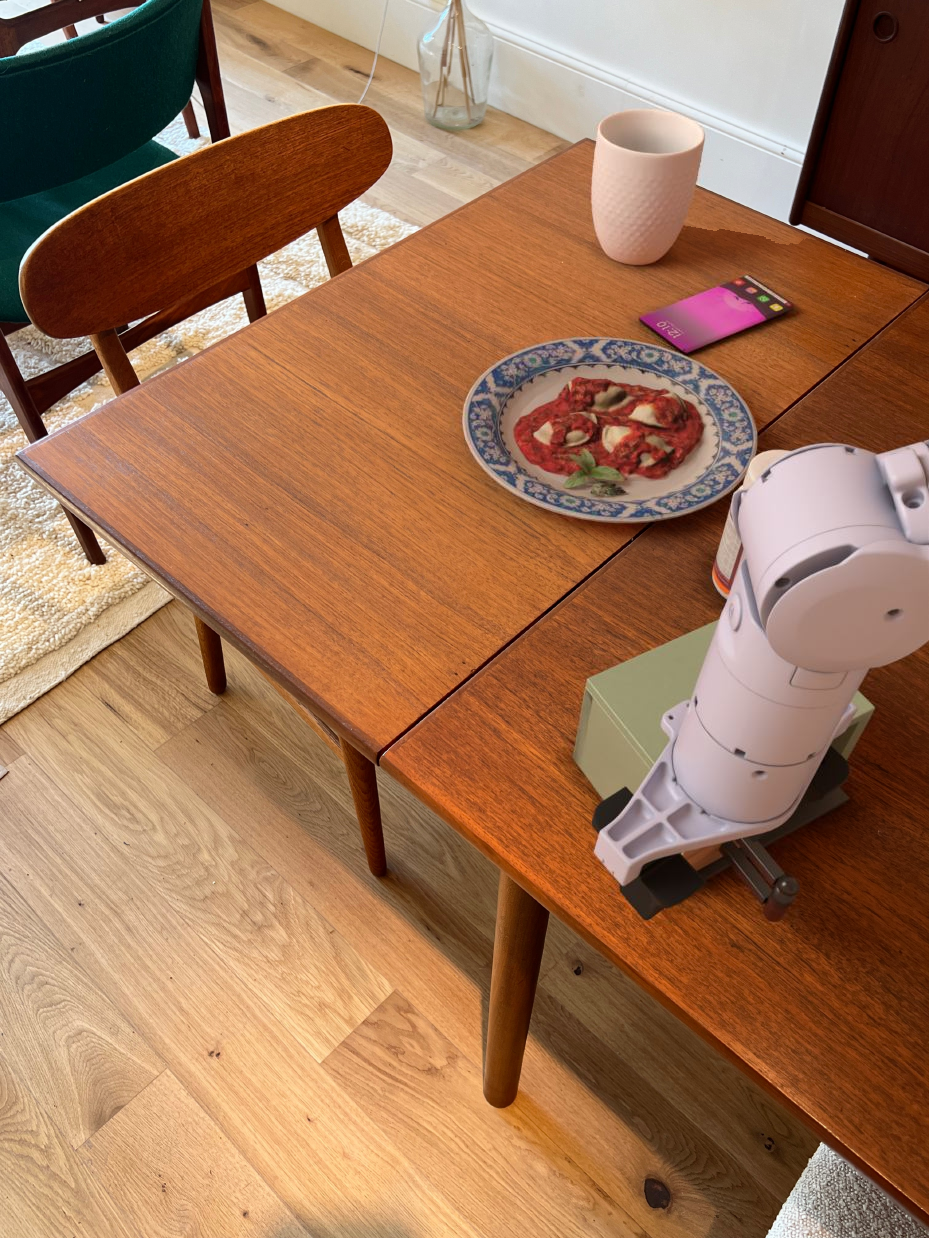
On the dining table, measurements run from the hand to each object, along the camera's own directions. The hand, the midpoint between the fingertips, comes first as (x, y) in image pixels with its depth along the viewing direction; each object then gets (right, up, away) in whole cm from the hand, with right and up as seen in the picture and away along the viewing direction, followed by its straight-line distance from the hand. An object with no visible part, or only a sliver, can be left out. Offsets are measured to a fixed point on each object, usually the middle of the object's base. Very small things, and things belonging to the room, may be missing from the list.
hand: (692, 862), depth 51 cm
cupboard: (+4, +2, +15) cm, 16 cm away
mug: (+7, +54, +60) cm, 82 cm away
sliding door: (+5, -4, +8) cm, 10 cm away
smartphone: (+14, +43, +51) cm, 68 cm away
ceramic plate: (+1, +29, +38) cm, 47 cm away
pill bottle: (+10, +15, +26) cm, 32 cm away
